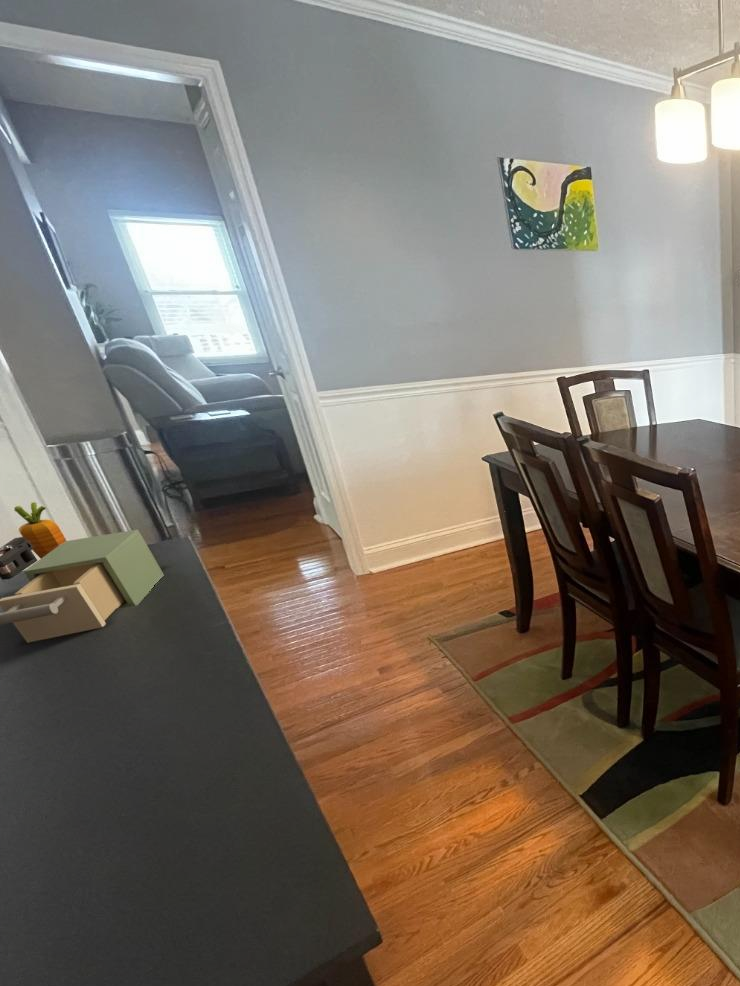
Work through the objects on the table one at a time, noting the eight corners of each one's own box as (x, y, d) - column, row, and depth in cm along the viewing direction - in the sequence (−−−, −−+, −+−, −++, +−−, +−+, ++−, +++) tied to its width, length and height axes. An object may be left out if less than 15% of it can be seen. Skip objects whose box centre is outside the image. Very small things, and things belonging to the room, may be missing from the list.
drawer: (89, 645, 90) (59, 601, 86) (10, 662, 87) (-25, 617, 83) (135, 596, 103) (111, 556, 99) (68, 609, 100) (40, 568, 96)
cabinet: (136, 606, 102) (105, 557, 97) (58, 622, 98) (22, 571, 94) (164, 575, 112) (138, 529, 107) (95, 588, 108) (64, 541, 104)
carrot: (76, 570, 116) (29, 498, 109) (95, 571, 115) (49, 499, 108) (44, 582, 111) (-6, 508, 104) (64, 584, 110) (14, 509, 103)
